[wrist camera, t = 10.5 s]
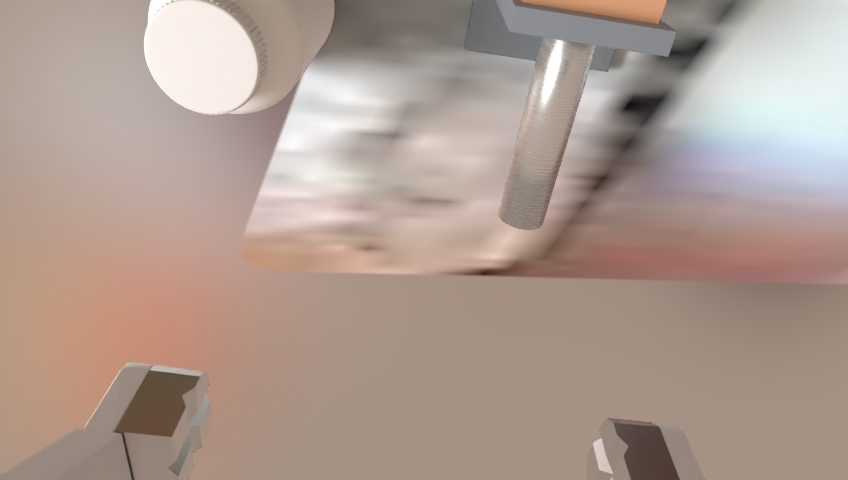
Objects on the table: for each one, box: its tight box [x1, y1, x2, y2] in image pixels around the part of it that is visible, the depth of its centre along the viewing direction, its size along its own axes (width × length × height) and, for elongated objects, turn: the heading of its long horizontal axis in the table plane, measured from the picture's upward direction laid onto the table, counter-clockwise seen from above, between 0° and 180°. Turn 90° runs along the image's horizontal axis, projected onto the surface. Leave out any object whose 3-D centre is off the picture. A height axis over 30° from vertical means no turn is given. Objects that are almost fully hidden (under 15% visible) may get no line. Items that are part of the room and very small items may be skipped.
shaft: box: [498, 37, 596, 230], centre depth 34 cm, size 18×3×3 cm, turn 172°
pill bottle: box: [144, 0, 335, 115], centre depth 33 cm, size 8×8×15 cm
